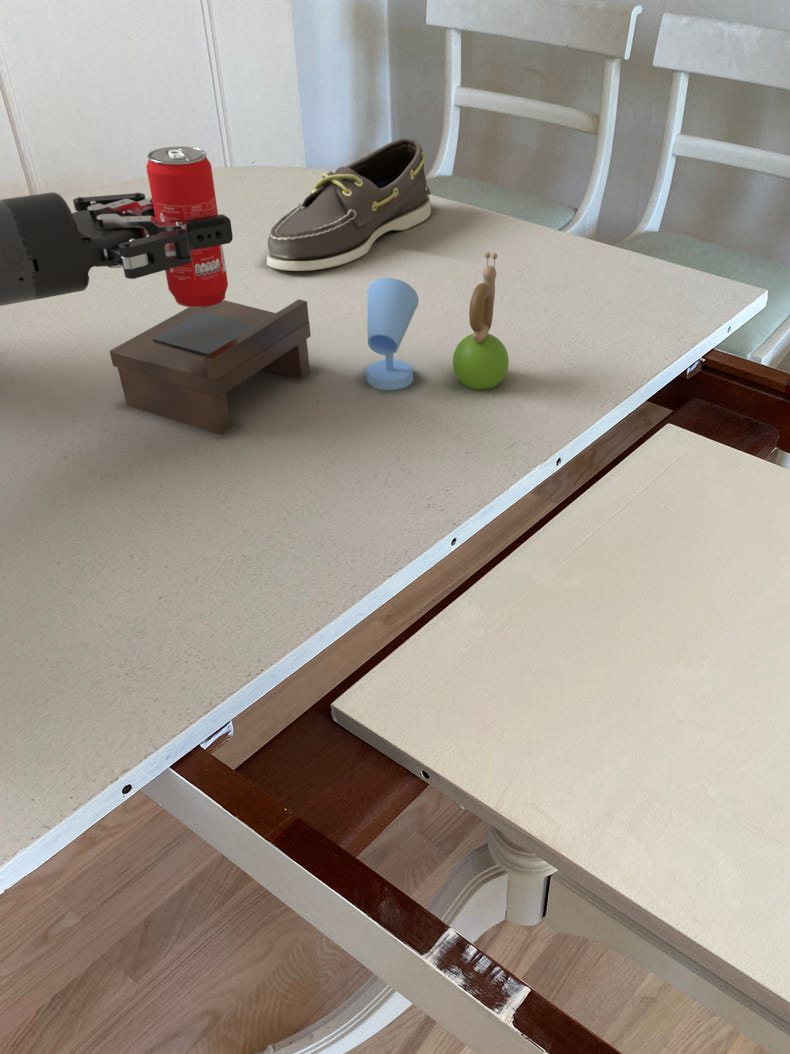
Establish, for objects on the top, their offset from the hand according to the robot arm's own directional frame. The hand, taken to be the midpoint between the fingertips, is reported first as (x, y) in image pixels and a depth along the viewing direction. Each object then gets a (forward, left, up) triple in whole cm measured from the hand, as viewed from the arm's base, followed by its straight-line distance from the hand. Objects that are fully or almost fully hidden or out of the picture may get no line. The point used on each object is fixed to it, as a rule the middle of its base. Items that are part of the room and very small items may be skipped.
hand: (216, 218), depth 84 cm
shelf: (-1, -2, -16) cm, 16 cm away
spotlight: (+12, +8, -16) cm, 22 cm away
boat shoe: (-12, +39, -16) cm, 44 cm away
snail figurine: (+20, +12, -16) cm, 28 cm away
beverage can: (-1, -2, -7) cm, 7 cm away
